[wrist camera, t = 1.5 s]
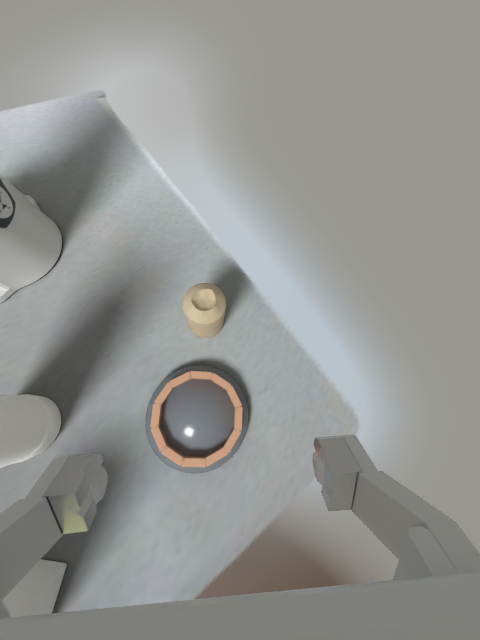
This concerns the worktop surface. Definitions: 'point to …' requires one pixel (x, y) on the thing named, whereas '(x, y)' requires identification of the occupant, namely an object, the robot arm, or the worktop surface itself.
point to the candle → (204, 309)
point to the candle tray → (196, 419)
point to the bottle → (26, 426)
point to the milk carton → (36, 590)
